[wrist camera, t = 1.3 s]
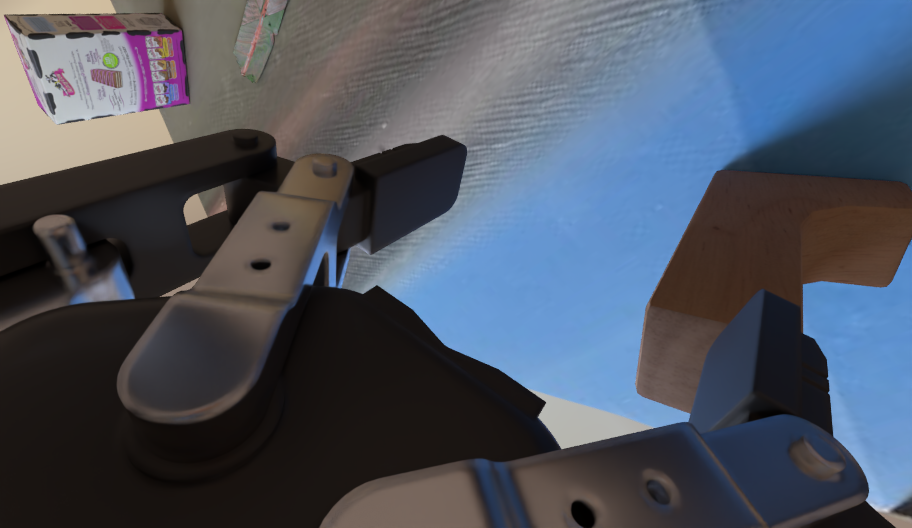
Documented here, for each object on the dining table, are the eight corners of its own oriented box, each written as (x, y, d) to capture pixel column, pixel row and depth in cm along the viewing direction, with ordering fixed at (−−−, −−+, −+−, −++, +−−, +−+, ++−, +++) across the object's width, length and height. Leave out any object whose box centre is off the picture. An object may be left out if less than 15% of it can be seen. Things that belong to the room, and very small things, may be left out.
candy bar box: (161, 10, 57) (0, 11, 45) (183, 29, 56) (23, 34, 44) (171, 88, 64) (34, 105, 53) (190, 105, 63) (55, 127, 52)
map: (236, 57, 52) (229, 58, 52) (275, -112, 37) (266, -113, 36) (260, 91, 53) (253, 92, 52) (309, -63, 37) (300, -64, 37)
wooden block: (909, 180, 22) (1051, 399, 10) (878, 255, 24) (962, 516, 12) (715, 167, 27) (644, 302, 15) (703, 231, 29) (631, 397, 17)
